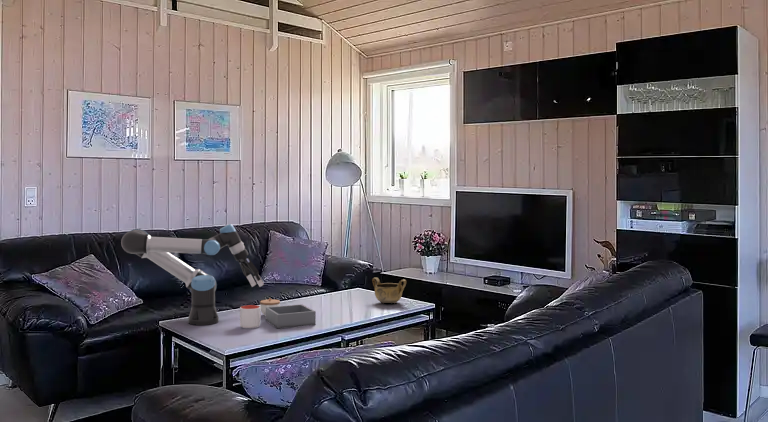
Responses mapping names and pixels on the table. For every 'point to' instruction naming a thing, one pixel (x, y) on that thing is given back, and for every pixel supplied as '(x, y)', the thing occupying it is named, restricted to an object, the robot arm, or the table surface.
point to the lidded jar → (268, 304)
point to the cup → (250, 316)
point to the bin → (290, 316)
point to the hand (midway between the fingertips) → (258, 285)
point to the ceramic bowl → (388, 291)
